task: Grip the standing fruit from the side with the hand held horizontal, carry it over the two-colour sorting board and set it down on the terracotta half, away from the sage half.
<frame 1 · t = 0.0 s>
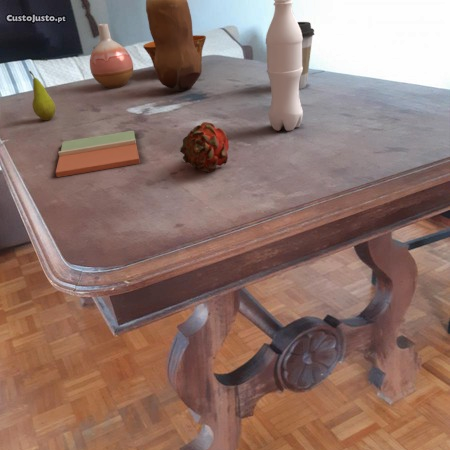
coffee cup: (292, 87, 130), on the table
water bottle: (286, 128, 101), on the table
fruit: (48, 120, 128), on the table
bowl: (179, 72, 163), on the table
sorting board: (99, 154, 99), on the table
vase: (116, 86, 155), on the table
dragon fruit: (207, 167, 87), on the table
butternut squash: (181, 90, 141), on the table
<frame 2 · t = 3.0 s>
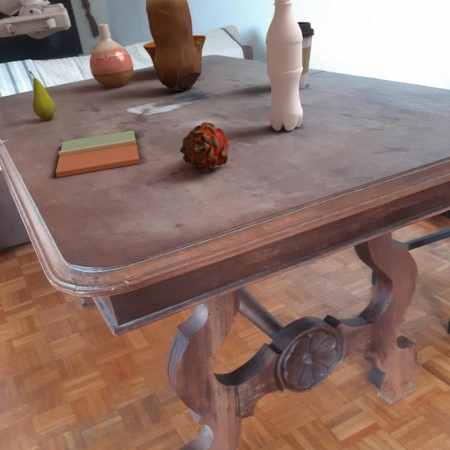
hand: (28, 28, 124), 21 cm above the table, tool horizontal, fingers open, 8 cm apart
nothing on the table moved.
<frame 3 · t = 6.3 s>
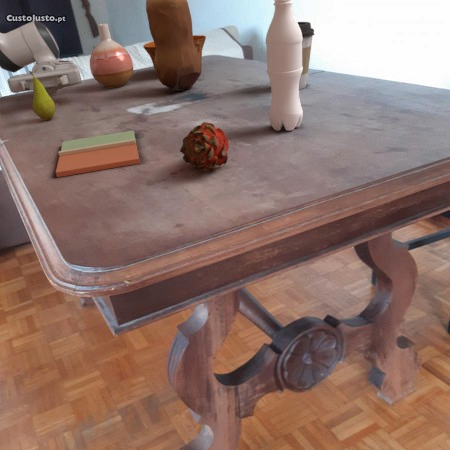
hand: (43, 84, 131), 7 cm above the table, tool horizontal, fingers open, 8 cm apart
nothing on the table moved.
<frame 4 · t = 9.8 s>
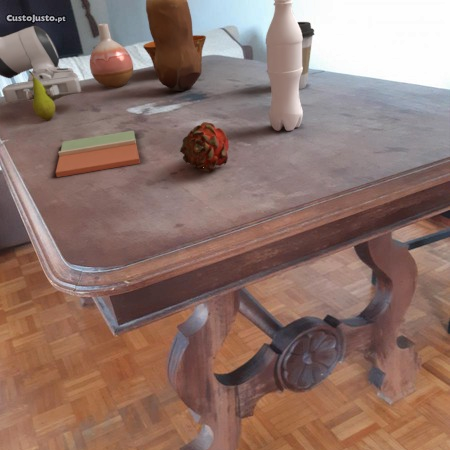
hand: (39, 94, 123), 7 cm above the table, tool horizontal, fingers closed on fruit, 4 cm apart
fruit: (48, 120, 128), on the table, touching gripper
everything else where it was.
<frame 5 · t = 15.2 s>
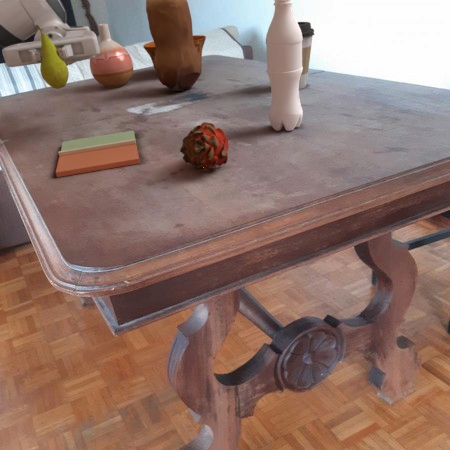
hand: (49, 55, 98), 18 cm above the table, tool horizontal, fingers closed on fruit, 4 cm apart
fruit: (59, 89, 102), point 11 cm above the table, touching gripper
everything else where it was.
when the fingers open (7 cm above the table, at t = 20.8 s): fruit stays where it is, resting on sorting board.
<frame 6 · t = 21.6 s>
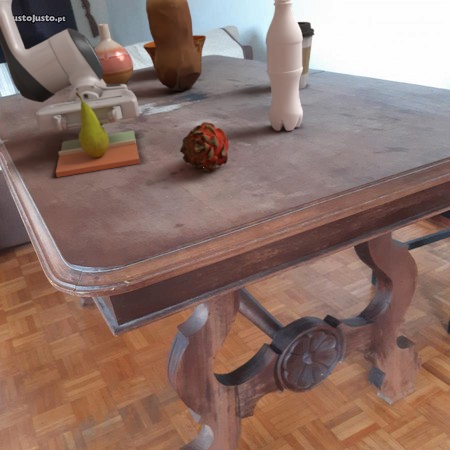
hand: (87, 122, 90), 8 cm above the table, tool horizontal, fingers open, 8 cm apart
fruit: (98, 157, 95), point 1 cm above the table, touching sorting board
everything else where it was.
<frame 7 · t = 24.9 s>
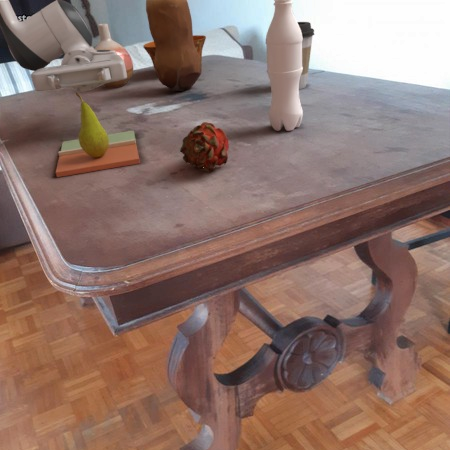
hand: (78, 81, 98), 13 cm above the table, tool horizontal, fingers open, 8 cm apart
nothing on the table moved.
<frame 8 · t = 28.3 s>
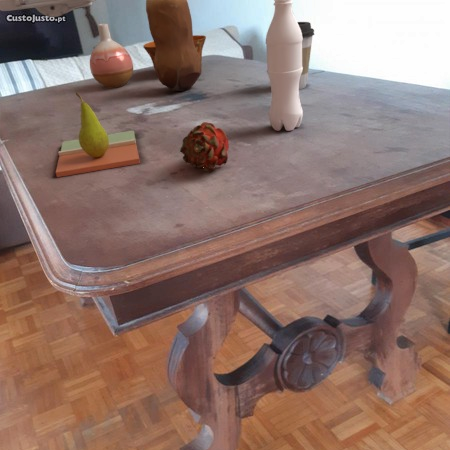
nothing on the table moved.
at the end: fruit inside the target area on the sorting board (0.6 cm from its centre), point 0.8 cm above the sorting board's base; fruit tilted 0°; the gripper is holding nothing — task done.
